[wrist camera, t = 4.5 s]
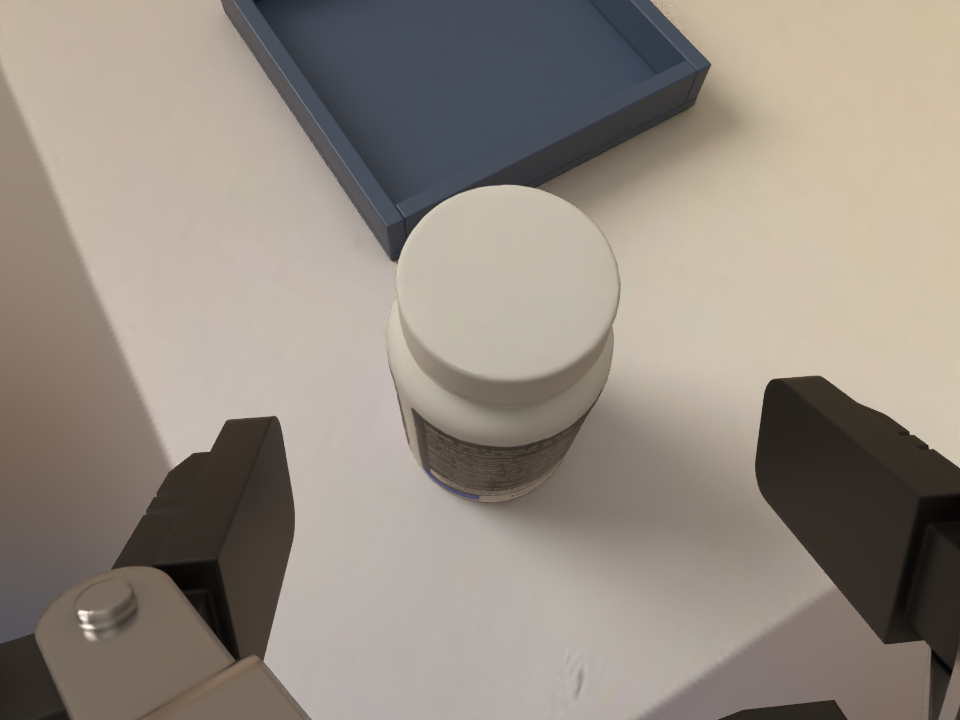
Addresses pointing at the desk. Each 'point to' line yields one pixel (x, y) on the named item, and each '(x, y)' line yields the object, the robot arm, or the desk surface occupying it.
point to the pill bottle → (500, 337)
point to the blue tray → (465, 90)
